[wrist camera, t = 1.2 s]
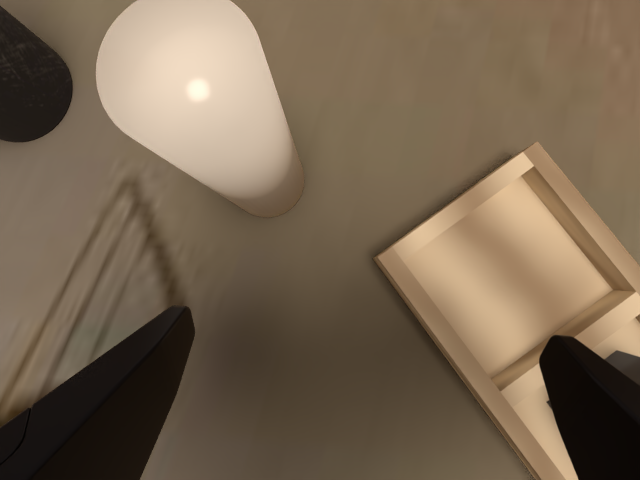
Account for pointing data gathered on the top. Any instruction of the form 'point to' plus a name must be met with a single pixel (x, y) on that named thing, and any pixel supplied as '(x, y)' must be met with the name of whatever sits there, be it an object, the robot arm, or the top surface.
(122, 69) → the candle
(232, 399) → the top surface
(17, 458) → the robot arm
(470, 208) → the organizer
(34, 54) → the travel mug
